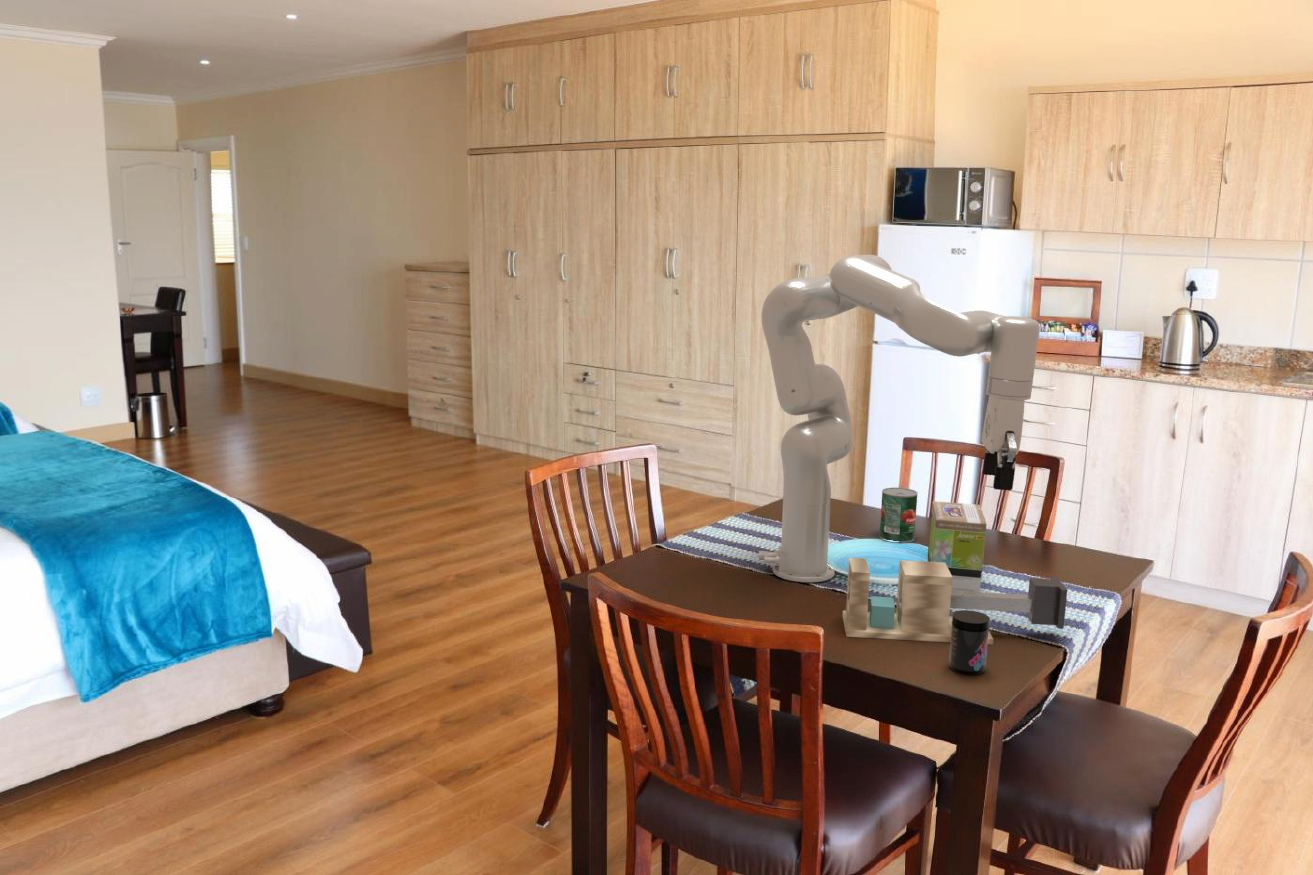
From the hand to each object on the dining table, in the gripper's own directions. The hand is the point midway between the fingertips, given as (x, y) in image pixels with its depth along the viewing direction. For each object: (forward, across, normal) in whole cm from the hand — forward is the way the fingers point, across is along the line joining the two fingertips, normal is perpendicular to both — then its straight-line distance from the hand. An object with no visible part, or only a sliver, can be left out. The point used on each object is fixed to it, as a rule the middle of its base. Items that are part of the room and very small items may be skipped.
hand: (997, 481), depth 192 cm
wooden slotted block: (+26, +8, -13) cm, 30 cm away
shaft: (+23, +8, -1) cm, 24 cm away
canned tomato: (+28, -48, -10) cm, 56 cm away
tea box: (+27, -20, -2) cm, 33 cm away
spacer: (+23, +8, -17) cm, 30 cm away
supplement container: (+26, +24, -6) cm, 36 cm away
